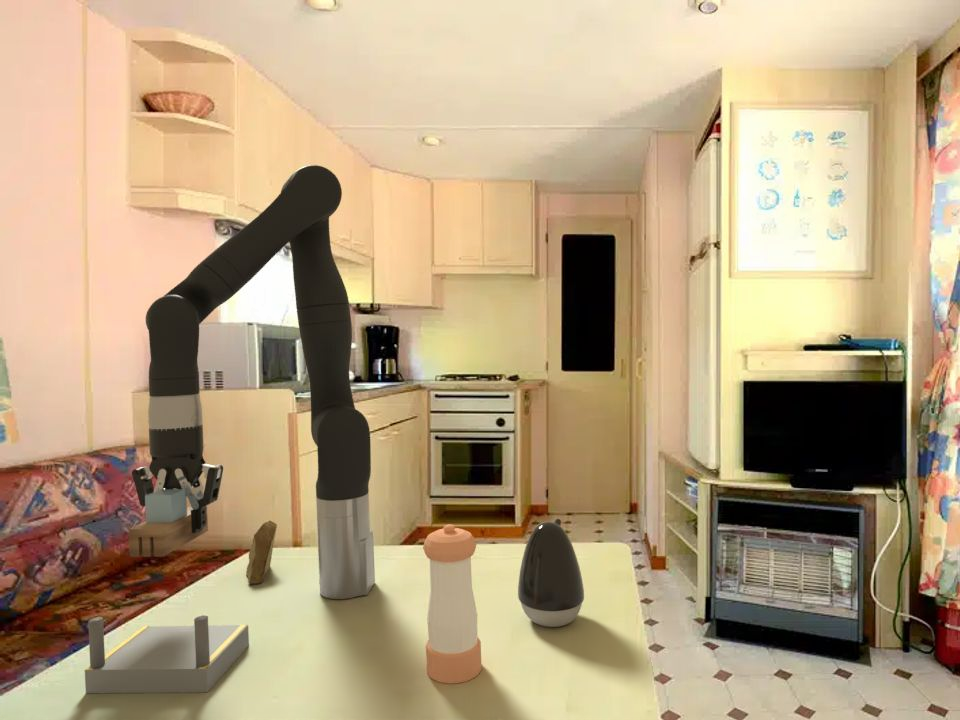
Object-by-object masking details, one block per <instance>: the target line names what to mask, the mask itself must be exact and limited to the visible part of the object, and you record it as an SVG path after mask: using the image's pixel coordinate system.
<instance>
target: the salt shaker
mask: <svg viewBox="0 0 960 720" xmlns="http://www.w3.org/2000/svg"><path fill="white" fill-rule="evenodd" d="M454 525H455V524H450V523H449V524H448V523H447V524H446V525H445V524H444V526H443V528H441V529H440V528H439V529H437V530H435V531H433V532H431V533H429V534H428V535H427V537H426V538H425V541H424V542H423V546H422V549H423V551H424V555H425V556H426V558H427V559H429V575H430V577H429V578H430V579H429V580H430V583H429V585H430V592H429V601H428V610H427V619H426V621H427V634H428V639H427V642H426V645H425V655H426V656H425V657H426V658H425V659H426V660H425V661H426V672H427V675H428V676H429V677H430V679H432V680H434V681H436V682H438V683H442V684H459V683H465V682H468V681H471V680H473V679H474V678H475V677H478V675H479V674H480V672H481V671H482V666H483V665H482V647H481V646H482V645H481V643H482V642H481V639H480V638H479V636H478V612H477V606H476V601H475V595H474V590H473V581H472V580H473V578H472V561H471V560H472V556H473V555H474V553H475V551H476V548H477V543H476V542H477V541H476V539H475V537H474V536H473V535H472V533H471V532H470V531H468V530H466V529H463V528H458V527H455V526H454Z"/></svg>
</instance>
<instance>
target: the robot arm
mask: <svg viewBox="0 0 960 720" xmlns="http://www.w3.org/2000/svg"><path fill="white" fill-rule="evenodd" d="M342 196H343V191H342V186H341V182H340V181H339V179H338V177H337V175H336V174H335V173H334V172H332V171H331V170H330V169H328V168H327V167H325V166H322V165H317V164H311V165H306V166H303V167H300V168H297V170H296V171H293V173H292V174H291V175H290V176H289V178H287V180H286V181H285V182H284V184H283V185H282V188H281V191H280V193H279V194H278V195H277V196H276V198H275V199H274V200H273V201H272V202H271V203H269V205H267V207H266V208H264V210H263V211H262V212H260V213H259V215H258V216H256V217H254V219H252V220H251V221H249V223H248V224H246V225H245V226H244V227H243V228H241V229H240V230H239V231H237V232H236V233H235V234H234V235H232V236H231V237H230V238H228V239H227V240H226V241H224V242H223V243H222V244H221V245H220V246H218V247H216V249H214V251H213V252H211V253H210V254H208V255H207V256H206V258H204V259H203V260H202V261H201V262H200V263H198V264H197V265H196V266H195V267H194V268H193V269H192V270H191V272H190V273H189V274H188V275H187V276H186V278H184V280H183V279H182V281H180V283H178V284H177V285H176V286H174V287H173V288H172V289H170V290H169V291H168V292H167V293H166V294H164V295H163V296H161V297H159V298H157V299H156V300H155V301H154V302H152V303H151V304H150V306H149V308H148V309H147V310H146V314H145V325H146V329H147V330H148V338H149V350H150V354H149V355H150V363H149V367H148V392H149V393H148V394H149V399H148V400H149V403H148V409H147V412H148V413H147V415H148V416H147V417H148V440H149V443H148V445H149V446H148V447H149V455H150V456H151V462H150V463H149V465H148V466H146V465H144V466H140V467H137V468H135V469H133V470H132V471H131V476H132V479H133V484H134V486H135V490H136V494H137V498H138V502H139V505H140V506H141V507H145V496H146V495H148V494H151V493H153V492H156V491H159V490H163V489H182V490H185V496H186V498H188V503H189V505H190V507H192V508H193V509H192V510H191V524H192V533H198V532H200V531H202V530H203V527H205V525H206V507H208V505H210V504H213V503H214V502H216V501H218V499H219V494H220V488H221V483H222V478H223V471H224V466H223V465H222V464H216V465H212V464H210V463H209V464H208V463H207V462H206V460H205V459H204V456H203V453H204V449H205V448H204V427H203V426H204V425H203V406H202V402H201V394H200V373H199V364H198V356H199V344H200V324H201V323H202V322H204V321H205V320H206V318H208V317H209V315H211V314H212V312H214V311H215V309H217V308H218V307H219V306H221V305H223V304H224V303H226V302H227V301H229V300H230V299H231V298H232V297H233V296H234V295H235V294H237V293H238V292H240V290H242V288H243V287H245V285H247V284H248V282H250V281H251V280H252V279H253V278H254V277H255V276H256V275H257V274H258V273H259V272H260V271H261V270H262V269H263V268H264V267H265V266H266V265H267V264H268V263H269V262H270V260H272V259H273V258H274V257H275V256H276V254H278V253H279V252H280V250H282V249H283V248H284V247H285V246H286V245H287V244H288V243H289V246H290V252H291V258H292V272H293V273H292V274H293V276H292V277H293V286H294V293H295V294H294V295H295V306H296V307H295V308H296V314H297V315H296V316H297V320H298V321H297V322H298V329H299V336H300V342H301V346H302V347H301V348H302V353H303V357H304V361H305V365H306V370H307V375H308V380H309V391H310V392H309V393H310V394H309V395H310V433H311V437H312V440H313V442H314V443H315V445H316V447H317V471H318V473H317V478H316V479H317V480H316V482H315V498H316V499H315V500H316V501H315V502H316V529H317V551H318V552H317V554H318V574H319V575H318V582H319V584H318V585H319V594H320V595H321V596H323V597H324V598H326V599H330V600H331V599H332V600H345V599H353V598H356V597H360V596H368V595H369V593H370V591H371V590H372V588H373V586H374V585H375V583H376V576H375V575H376V571H375V569H376V568H375V545H374V532H373V531H372V530H371V526H370V525H371V524H370V522H371V520H370V519H371V518H370V498H369V497H370V495H369V494H370V493H369V492H370V491H369V489H370V488H369V483H370V479H371V471H372V469H371V466H372V462H371V461H372V458H371V457H372V456H371V455H372V453H371V452H372V451H371V447H372V446H371V432H370V425H369V421H368V420H367V418H366V416H364V414H363V413H362V412H360V410H358V409H356V406H355V402H354V398H353V394H352V393H353V392H352V387H351V379H350V363H351V354H352V343H353V342H352V341H353V327H352V326H353V325H352V317H351V309H350V308H351V307H350V301H349V296H348V292H347V288H346V286H345V283H344V281H343V278H342V276H341V275H342V274H341V273H340V271H339V269H338V266H337V264H336V262H335V259H334V256H333V252H332V251H333V250H332V246H331V236H330V234H331V232H330V217H331V216H332V215H333V214H335V212H336V211H337V209H338V208H339V206H340V204H341V202H342V198H343V197H342ZM202 474H204V479H206V480H205V485H203V482H202V481H201V478H200V477H201V476H202ZM153 477H154V479H156V482H155V485H154V484H153V480H152V478H153Z"/></svg>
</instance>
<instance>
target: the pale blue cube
mask: <svg viewBox="0 0 960 720" xmlns="http://www.w3.org/2000/svg"><path fill="white" fill-rule="evenodd" d="M187 501H188V500H187V497H186V496H185V490H182V489H175V488H174V489H163V490H159V491H156V492H153V493H151V494H148V495H146V496H145V506H144V507H145V510H144V511H145V521H146V523H158V522H174V521H176V520H178V519H180V518H182V517H184V516H186V515H187V507H188V505H187Z"/></svg>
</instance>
